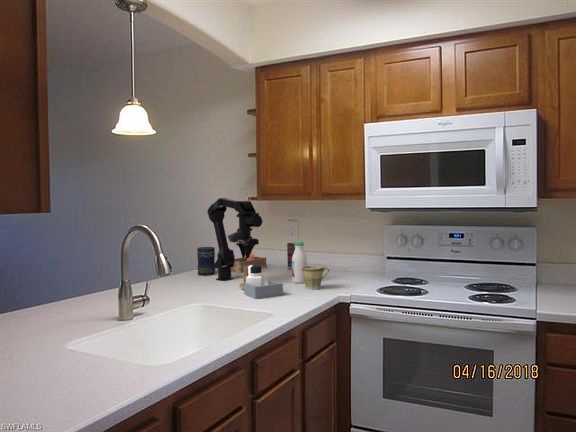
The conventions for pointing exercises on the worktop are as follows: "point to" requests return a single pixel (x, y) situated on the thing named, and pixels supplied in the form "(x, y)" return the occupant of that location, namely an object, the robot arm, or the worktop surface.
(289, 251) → the supplement box
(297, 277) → the milk bottle
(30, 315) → the worktop surface
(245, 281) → the tan wooden stepped block
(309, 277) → the ceramic cup
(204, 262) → the storage jar
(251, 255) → the pottery
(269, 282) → the grey angular block
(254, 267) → the medicine bottle
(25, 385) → the worktop surface
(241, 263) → the wooden box
